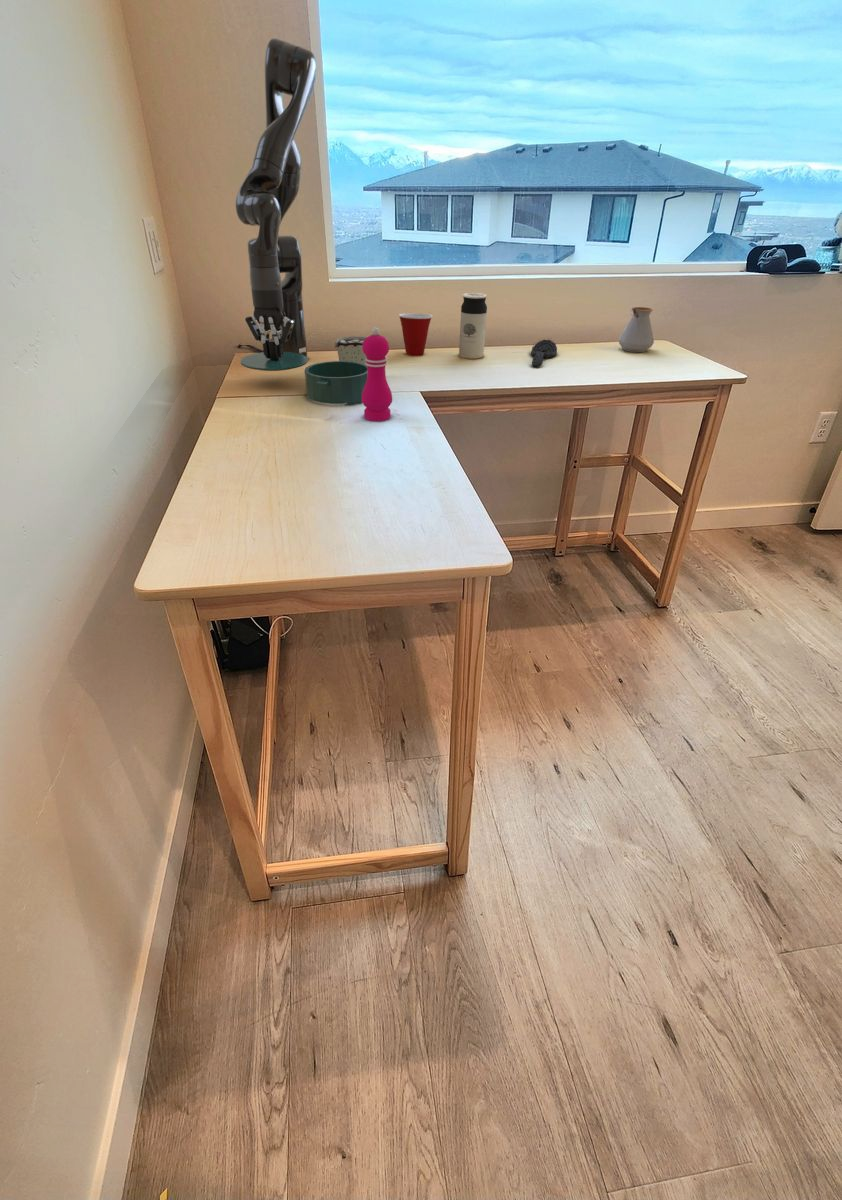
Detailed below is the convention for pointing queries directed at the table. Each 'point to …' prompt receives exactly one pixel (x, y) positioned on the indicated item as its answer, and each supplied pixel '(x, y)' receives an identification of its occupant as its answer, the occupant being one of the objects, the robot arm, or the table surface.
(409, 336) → the plastic cup
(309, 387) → the pot
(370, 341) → the pepper mill
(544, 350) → the hairbrush
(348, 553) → the table surface
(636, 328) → the coffee pot
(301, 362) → the pot lid
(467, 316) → the travel mug
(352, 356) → the food container
